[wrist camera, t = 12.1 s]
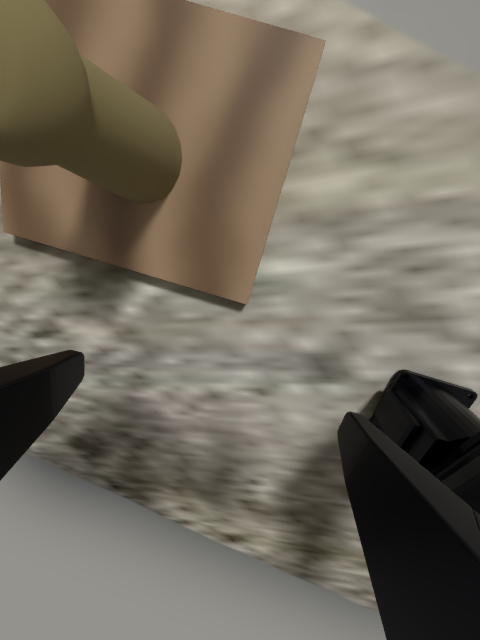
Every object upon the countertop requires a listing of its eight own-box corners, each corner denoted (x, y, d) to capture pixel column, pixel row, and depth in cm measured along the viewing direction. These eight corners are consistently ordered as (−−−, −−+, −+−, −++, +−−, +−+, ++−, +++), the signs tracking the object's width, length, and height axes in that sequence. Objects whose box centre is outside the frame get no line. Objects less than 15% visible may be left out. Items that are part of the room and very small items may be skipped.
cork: (165, 218, 18) (29, 202, 8) (87, 180, 18) (-159, 112, 8) (195, 125, 16) (63, -62, 6) (107, 81, 16) (-195, -198, 6)
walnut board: (321, 54, 15) (325, 40, 14) (248, 300, 21) (246, 304, 20) (7, -36, 15) (-14, -57, 14) (17, 231, 21) (3, 231, 20)
